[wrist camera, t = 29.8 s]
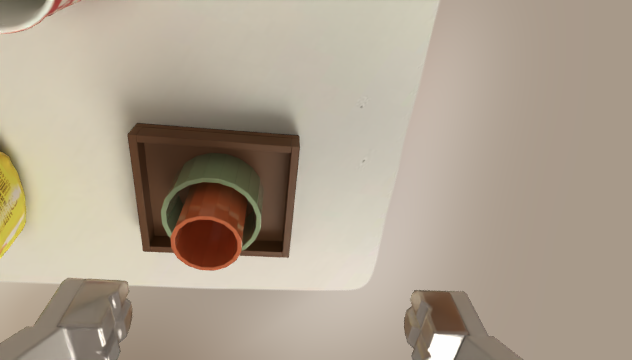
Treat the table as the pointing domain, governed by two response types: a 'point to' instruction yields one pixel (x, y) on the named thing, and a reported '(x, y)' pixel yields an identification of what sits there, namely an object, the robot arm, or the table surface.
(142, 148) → the tray
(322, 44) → the table surface
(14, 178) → the bottle
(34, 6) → the mug
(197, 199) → the terracotta cup
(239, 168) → the sage cup
